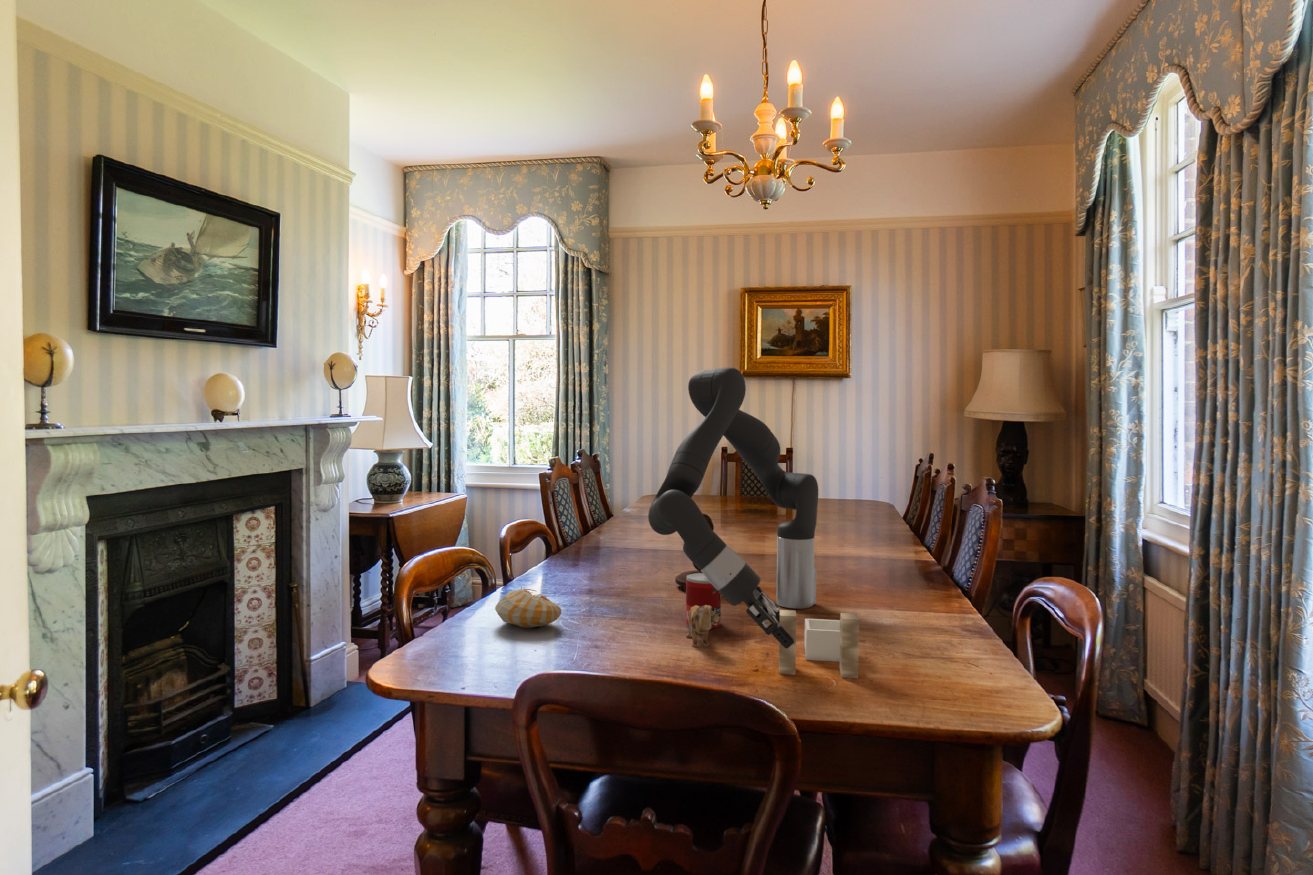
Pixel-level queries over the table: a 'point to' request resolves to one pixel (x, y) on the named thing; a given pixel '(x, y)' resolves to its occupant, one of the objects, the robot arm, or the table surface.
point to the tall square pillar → (789, 655)
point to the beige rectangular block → (849, 645)
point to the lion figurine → (701, 622)
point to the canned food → (702, 595)
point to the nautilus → (527, 609)
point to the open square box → (822, 640)
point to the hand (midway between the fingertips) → (790, 637)
